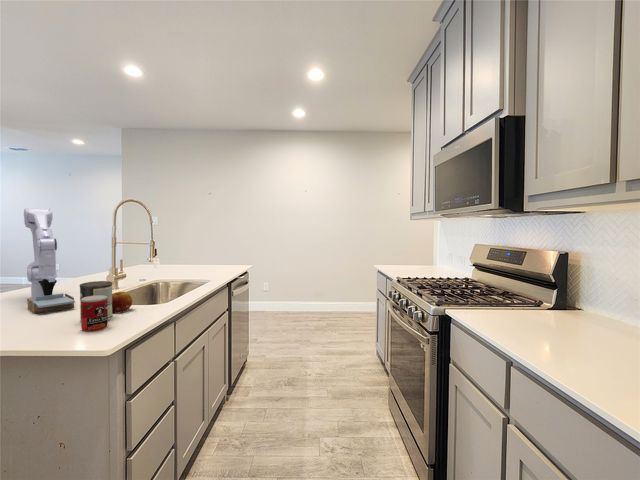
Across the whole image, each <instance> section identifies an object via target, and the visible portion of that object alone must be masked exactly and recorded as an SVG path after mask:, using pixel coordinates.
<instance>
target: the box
mask: <svg viewBox="0 0 640 480" xmlns="http://www.w3.org/2000/svg"><path fill="white" fill-rule="evenodd" d="M66 296H67V297H69V298H70V299H72V300H74V301H75V298H74V297H73V296H72V295H69V294H68V293H65V294H64V297H66ZM29 298H30V297H29ZM29 298H27V309H28V310H29V311H30V312H31V313H33V314H34V315H36V314H37V315H38V314H43V313H48V312H49V313H50V312H56V311H60V310H68V309H73V308H74V309H75V303H70V304H63V305H56V306H50V307H43V308H38V307H37V306H35V303H34V302H33V301H31V300H30V299H29Z"/></svg>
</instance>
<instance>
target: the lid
mask: <svg viewBox="0 0 640 480" xmlns="http://www.w3.org/2000/svg"><path fill="white" fill-rule="evenodd" d="M33 302H34V303H35V306H37V307H38V308H43V307H50V306H56V305H63V304H70V303H74V304H75V303H76V300H75V299H74V300H72V299H70V298H69V297H67V296H66V297H65V294H64V293H56V294H52V295H47V296H39V297H36V301H33Z"/></svg>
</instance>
